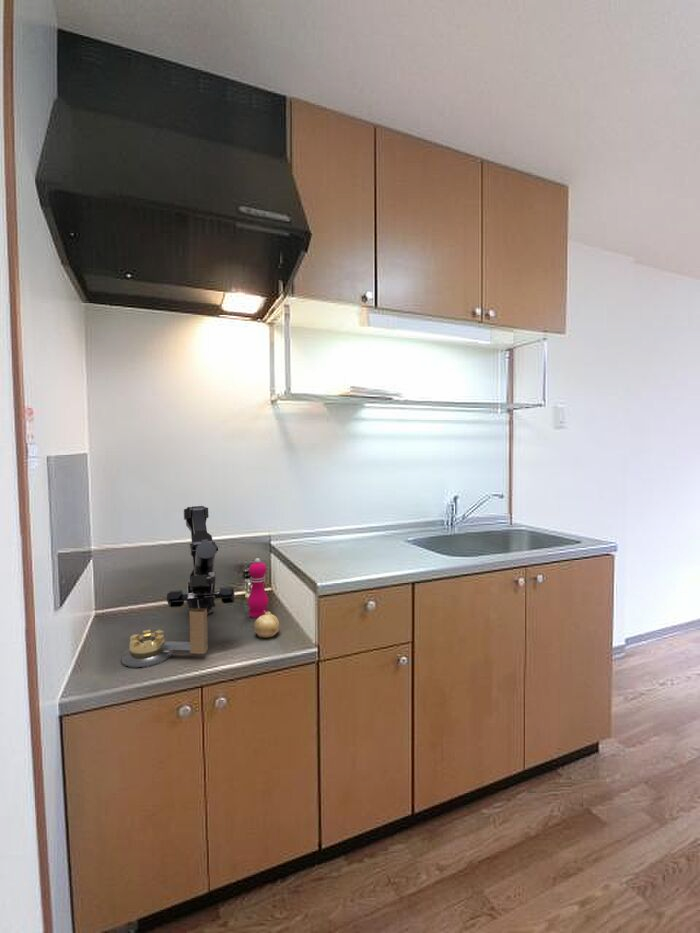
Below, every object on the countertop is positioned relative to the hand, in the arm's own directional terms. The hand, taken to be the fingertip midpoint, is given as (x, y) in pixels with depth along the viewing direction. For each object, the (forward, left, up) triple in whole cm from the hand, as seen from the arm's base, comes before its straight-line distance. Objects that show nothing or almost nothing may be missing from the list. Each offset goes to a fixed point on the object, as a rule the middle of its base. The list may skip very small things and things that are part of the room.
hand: (199, 625), depth 125 cm
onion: (+1, +21, -9) cm, 23 cm away
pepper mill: (-15, +27, -9) cm, 32 cm away
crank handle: (-5, -7, -7) cm, 11 cm away
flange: (-9, -11, -9) cm, 17 cm away
